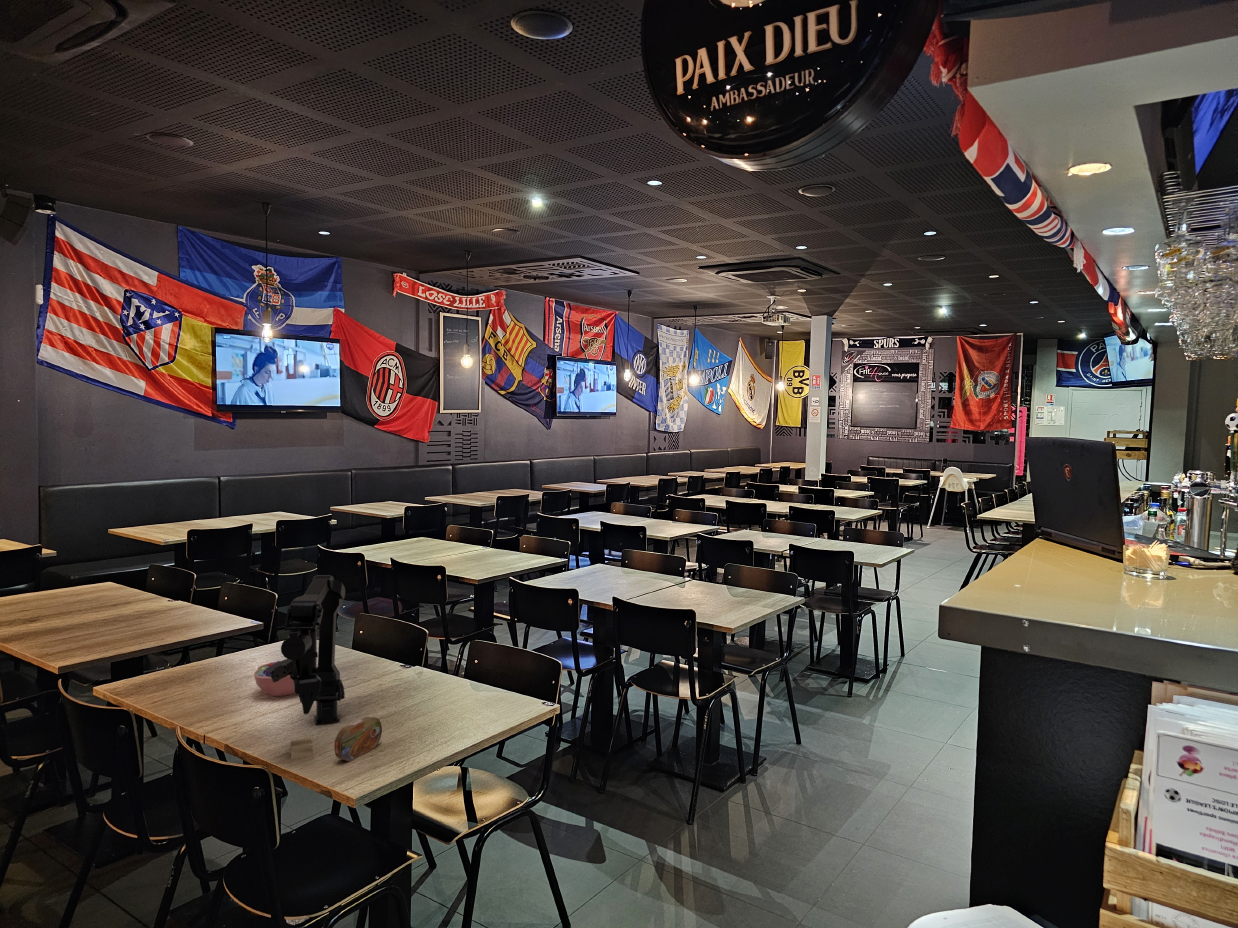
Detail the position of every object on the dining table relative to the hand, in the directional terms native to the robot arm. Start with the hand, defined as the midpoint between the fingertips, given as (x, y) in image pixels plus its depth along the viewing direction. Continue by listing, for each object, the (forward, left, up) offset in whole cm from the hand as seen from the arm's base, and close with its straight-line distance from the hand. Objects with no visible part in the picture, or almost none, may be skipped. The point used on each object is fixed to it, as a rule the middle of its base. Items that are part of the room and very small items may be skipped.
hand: (304, 707), depth 191 cm
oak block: (0, -1, -12) cm, 12 cm away
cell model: (-52, -2, -12) cm, 54 cm away
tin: (+6, +13, -12) cm, 18 cm away
